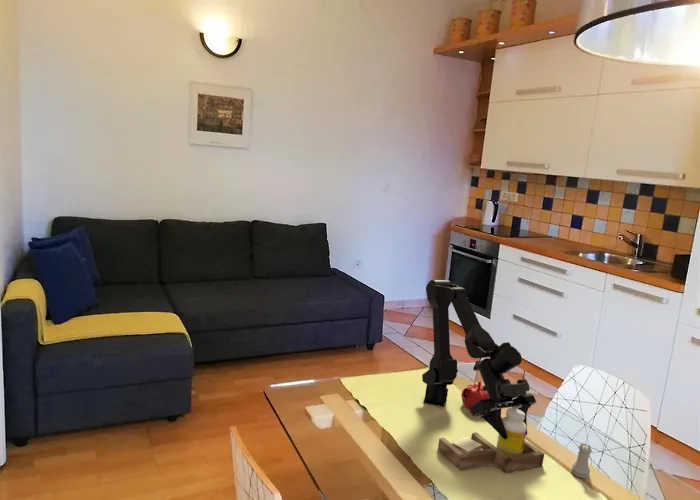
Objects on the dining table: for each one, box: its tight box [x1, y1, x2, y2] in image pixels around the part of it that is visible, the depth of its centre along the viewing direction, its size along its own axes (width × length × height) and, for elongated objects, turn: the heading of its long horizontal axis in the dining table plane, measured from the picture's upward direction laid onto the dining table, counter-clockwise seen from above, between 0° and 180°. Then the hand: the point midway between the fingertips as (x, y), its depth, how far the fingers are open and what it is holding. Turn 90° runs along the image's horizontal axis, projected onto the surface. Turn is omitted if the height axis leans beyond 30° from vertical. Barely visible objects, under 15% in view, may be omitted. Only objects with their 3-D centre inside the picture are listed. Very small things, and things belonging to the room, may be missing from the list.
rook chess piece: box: [570, 442, 593, 480], centre depth 134 cm, size 4×4×8 cm
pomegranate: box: [461, 380, 490, 411], centre depth 166 cm, size 10×10×9 cm
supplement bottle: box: [495, 407, 528, 457], centre depth 138 cm, size 7×7×13 cm
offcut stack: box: [451, 436, 484, 454], centre depth 137 cm, size 6×7×4 cm
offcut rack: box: [437, 432, 545, 475], centre depth 137 cm, size 14×24×4 cm, turn 116°
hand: (515, 437), depth 137 cm, fingers closed on supplement bottle, 7 cm apart
